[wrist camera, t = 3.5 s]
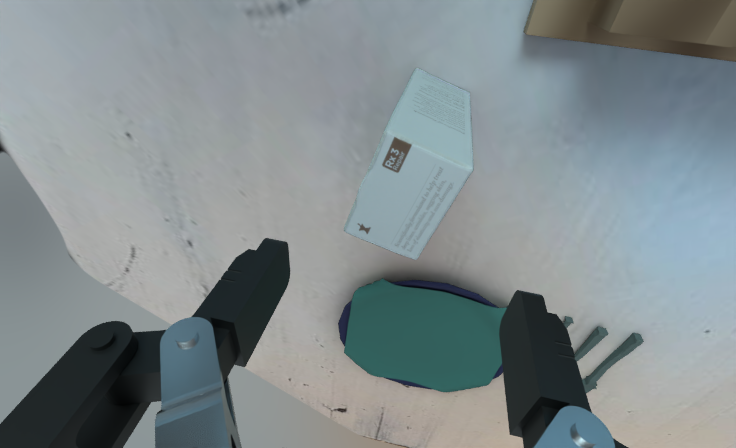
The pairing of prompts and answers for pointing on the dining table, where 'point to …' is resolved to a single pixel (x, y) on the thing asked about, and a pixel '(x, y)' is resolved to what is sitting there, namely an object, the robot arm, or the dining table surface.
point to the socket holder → (641, 24)
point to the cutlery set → (438, 336)
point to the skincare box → (415, 167)
